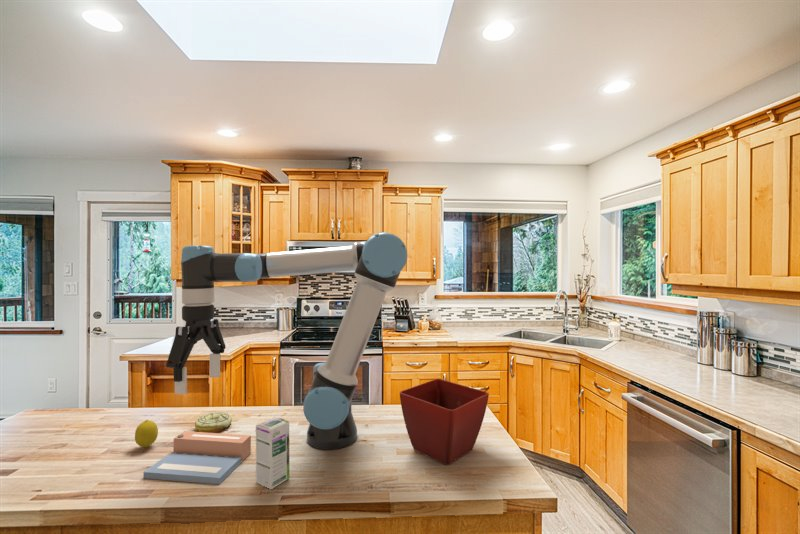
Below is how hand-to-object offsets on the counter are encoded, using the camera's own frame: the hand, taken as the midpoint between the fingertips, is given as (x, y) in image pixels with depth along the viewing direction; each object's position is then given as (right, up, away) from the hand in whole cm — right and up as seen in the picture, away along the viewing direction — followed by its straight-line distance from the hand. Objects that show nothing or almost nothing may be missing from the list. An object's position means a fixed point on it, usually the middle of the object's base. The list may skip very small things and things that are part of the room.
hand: (199, 384), depth 100 cm
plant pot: (+66, -22, +10) cm, 70 cm away
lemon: (-20, -21, +9) cm, 30 cm away
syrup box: (+22, -22, -7) cm, 31 cm away
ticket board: (0, -21, -2) cm, 21 cm away
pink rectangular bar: (+1, -21, +6) cm, 22 cm away
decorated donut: (-7, -21, +23) cm, 32 cm away
